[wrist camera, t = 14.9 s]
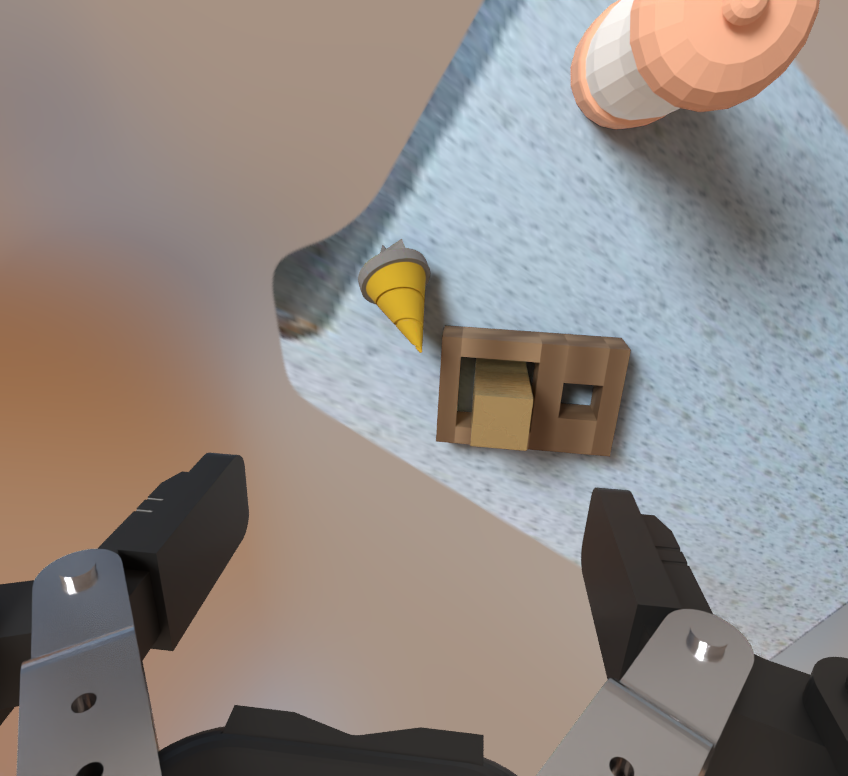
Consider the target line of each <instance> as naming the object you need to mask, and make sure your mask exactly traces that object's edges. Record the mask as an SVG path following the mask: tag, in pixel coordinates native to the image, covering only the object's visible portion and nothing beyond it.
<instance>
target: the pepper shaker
mask: <svg viewBox="0 0 848 776" xmlns="http://www.w3.org/2000/svg"><path fill="white" fill-rule="evenodd" d="M818 9H819V0H619V1H617V2H615V3H613V4H611V5H610V6H609V7H608V8H607V9H606V10H605V11H604V12H603V13H602V14H601V15H600V16H599V17H598V18H597V19H596V20H595V21H594V22H593V23H592V24H591V25H590V27H589V28H588V29H587V30H586V32H585V33H584V35H583V37H582V39H581V40H580V42H579V44H578V45H577V47H576V49H575V53H574V57H573V61H572V64H571V88H572V91H573V95H574V98H575V101H576V104H577V105H578V106H579V108H580V109H581V110H582V112H583V113H584V114H585V116H586V117H587V118H589V119H590V120H592V121H593V122H595V123H596V124H598V125H599V126H602V127H607V128H612V129H616V130H617V129H625V128H633V127H639V126H645V125H648V124H650V123H652V122H654V121H656V120H659V119H661V118H663V117H665V116H666V115H667V114H669V113H671V112H673V111H676V110H678V109H680V108H683V109H688V110H692V111H697V112H706V111H714V110H722V109H728V108H731V107H733V106H735V105H737V104H739V103H742V102H744V101H746V100H748V99H750V98H753V97H755V96H756V95H757V94H759V93H760V92H761V91H762V90H764V89H765V88H766V87H767V86H768V85H770V84H771V83H772V82H773V81H774V80H776V79H777V78H778V77H779V76H780V75H781V74H782V73H783V72H784V71H785V70H786V69H787V68H788V66H789V65H790V64H791V62H792V61H793V60H794V58H795V57H796V56H797V54H798V53H799V51H800V50H801V48H802V47H803V46H804V45H805V43H806V41H807V38H808V36H809V33H810V31H811V28H812V26H813V24H814V21H815V19H816V16H817V14H818Z"/></svg>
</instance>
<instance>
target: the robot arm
mask: <svg viewBox="0 0 848 776" xmlns="http://www.w3.org/2000/svg"><path fill="white" fill-rule="evenodd" d="M248 518H249V509H248V497H247V487H246V476H245V466H244V461H243V458H242V457H241V456H240V455H231V454H219V453H206V454H205V455H204V456H203V457H202V458H201V459H200V460H199V462H197V464H196V465H195V466H194V467H193V468H192V469H191V470H190V471H189V472H180V473H179V474H177V475H175V476H173V477H171V478H169V479H168V480H166V481H164V482H162V483H161V484H160V485H159V486H158V487H157V488H156V489H155V490H154V491H153V492H152V493H151V494H150V495H149V496H148V499H147V500H144V501H143V502H142V503H141V504H140V505H139V507H138V508H137V511H134V512H133V513H132V514H131V515H130V516H129V517H128V518H127V519H126V520H125V521H124V522H123V523H122V524H121V525H120V526H119V527H118V528H117V529H116V530H115V531H114V532H113V533H112V534H111V535H110V536H109V537H108V538H107V539H106V540H105V541H104V542H103V543H102V545H101V546H100V547H99V548H98V549H88V550H82V551H78V552H74V553H71V554H68V555H66V556H63V557H61V558H60V559H57V560H55V561H54V562H52V563H51V564H49V565H48V566H46V567H45V568H44V569H43V570H42V571H41V572H40V573H39V574H38V575H37V577H36V578H35V580H32V581H25V582H16V583H8V584H0V725H1V724H2V723H3V721H4V720H5V719H6V717H7V716H8V715H9V714H10V712H11V711H12V710H13V709H14V707H16V706H19V725H18V751H17V752H18V753H17V776H517V775H516V774H514V773H513V772H511V771H510V770H509V769H507V768H505V767H503V766H501V765H499V764H498V763H496V762H494V761H491V760H489V759H486V758H484V757H483V735H478V734H471V733H462V732H454V731H446V730H437V729H429V728H413V729H405V730H397V731H389V732H382V733H374V734H366V735H350V734H347V733H345V732H342V731H340V730H337V729H335V728H332V727H330V726H327V725H325V724H322V723H320V722H317V721H315V720H312V719H310V718H307V717H305V716H302V715H300V714H297V713H295V712H288V711H280V710H272V709H263V708H255V707H247V706H238V705H235V706H234V708H233V710H232V712H231V714H230V717H229V719H228V721H227V723H226V726H225V727H218V728H214V729H210V730H206V731H202V732H199V733H196V734H194V735H191V736H188V737H185V738H183V739H181V740H179V741H177V742H175V743H172V744H170V745H169V746H167V747H165V748H163V749H162V750H159V745H158V740H157V734H156V729H155V724H154V719H153V713H152V708H151V703H150V698H149V693H148V687H147V682H146V677H145V672H144V667H143V662H142V661H143V659H144V658H145V656H146V655H147V653H148V652H149V650H150V649H159V650H168V651H173V650H174V649H175V647H176V646H177V644H178V642H179V641H180V639H181V638H182V636H183V634H184V633H185V631H186V630H187V628H188V626H189V625H190V623H191V622H192V620H193V618H194V617H195V615H196V614H197V612H198V610H199V609H200V607H201V605H202V604H203V602H204V601H205V599H206V598H207V596H208V594H209V592H210V591H211V589H212V588H213V586H214V585H215V583H216V581H217V580H218V578H219V577H220V575H221V573H222V572H223V570H224V569H225V567H226V565H227V564H228V562H229V560H230V559H231V557H232V556H233V554H234V552H235V551H236V549H237V548H238V546H239V544H240V543H241V541H242V540H243V538H244V535H245V533H246V529H247V525H248ZM581 566H582V573H583V578H584V582H585V586H586V591H587V595H588V599H589V603H590V607H591V612H592V616H593V620H594V624H595V628H596V633H597V636H598V641H599V645H600V650H601V654H602V658H603V662H604V666H605V671H606V675H607V679H608V680H607V681H606V682H605V684H604V685H603V686H602V687H601V689H600V690H599V691H598V693H597V694H596V696H595V697H594V698H593V699H592V701H591V702H590V703H589V705H588V706H587V707H586V709H585V710H584V712H583V713H582V714H581V716H580V717H579V718H578V720H577V721H576V722H575V724H574V725H573V726H572V728H571V729H570V731H569V732H568V733H567V734H566V736H565V737H564V739H563V740H562V741H561V743H560V744H559V745H558V747H557V748H556V749H555V751H554V752H553V754H552V755H551V756H550V757H549V759H548V760H547V761H546V763H545V764H544V766H543V767H542V768H541V770H540V771H539V772H538V774H537V775H536V776H848V659H847V658H842V657H828V658H824V659H822V660H820V661H818V662H817V663H816V664H815V666H814V668H813V671H812V673H811V675H809V674H806V673H803V672H801V671H797V670H794V669H792V668H789V667H786V666H783V665H780V664H777V663H774V662H771V661H769V660H766V659H764V658H761V657H759V656H757V655H755V654H754V653H753V649H752V647H751V645H750V643H749V642H748V640H747V639H746V638H745V637H744V635H743V634H742V633H741V632H740V631H739V630H737V629H736V628H735V627H734V626H733V625H731V624H730V623H728V622H727V621H725V620H723V619H721V618H720V617H717V616H715V615H713V613H712V611H711V609H710V607H709V605H708V603H707V601H706V599H705V597H704V595H703V593H702V591H701V589H700V587H699V585H698V583H697V581H696V579H695V577H694V575H693V573H692V571H691V569H690V567H689V566H687V561H686V559H685V557H684V555H683V553H682V552H680V547H679V545H678V543H677V541H676V539H675V537H674V535H673V533H672V531H671V530H670V529H669V528H668V527H666V526H665V525H664V524H663V523H662V522H661V521H660V520H659V519H658V518H657V517H656V516H654V515H644V514H641V513H640V511H639V509H638V506H637V504H636V502H635V499H634V497H633V495H632V493H631V492H630V491H629V490H618V489H607V488H594V490H593V492H592V495H591V500H590V506H589V511H588V516H587V522H586V527H585V532H584V538H583V543H582V552H581Z"/></svg>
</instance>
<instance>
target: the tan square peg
mask: <svg viewBox="0 0 848 776" xmlns="http://www.w3.org/2000/svg"><path fill="white" fill-rule="evenodd" d="M532 406H533V396H532V391H531V386H530V381H529V376H528V371H527V366H526V361H513V360H500V359H486V358H476V366H475V378H474V389H473V400H472V422H471V445H470V446H477V447H489V448H500V449H511V450H523V451H527V443H528V436H529V428H530V421H531V413H532Z"/></svg>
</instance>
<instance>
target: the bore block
mask: <svg viewBox="0 0 848 776" xmlns="http://www.w3.org/2000/svg"><path fill="white" fill-rule="evenodd" d="M630 351H631V350H630V348H629V347H628V346H627V344H626V343H625V342H624V340H623V339H622V338H615V337H601V336H587V335H573V334H559V333H545V332H531V331H517V330H502V329H488V328H474V327H460V326H446V325H445V327H444V332H443V336H442V352H441V368H440V385H439V401H438V418H437V434H436V441H438V442H449V443H461V444H471V422H472V412H463V411H457V406H458V393H459V379H460V366H461V357H473V358H486V359H500V360H513V361H526V362H535V364H534V371H533V379H532V387H531V391H532V396H533V406H532V413H531V421H530V428H529V436H528V443H527V449H531V450H542V451H554V452H566V453H577V454H589V455H600V456H610V453H611V448H612V443H613V437H614V432H615V427H616V422H617V417H618V412H619V407H620V402H621V397H622V392H623V387H624V382H625V377H626V372H627V367H628V361H629V356H630ZM563 383H572V384H585V385H594V387H593V393H592V398H591V404H590V405H578V404H565V403H561V396H562V390H563Z"/></svg>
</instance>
